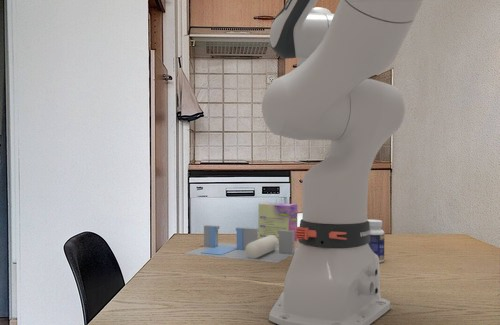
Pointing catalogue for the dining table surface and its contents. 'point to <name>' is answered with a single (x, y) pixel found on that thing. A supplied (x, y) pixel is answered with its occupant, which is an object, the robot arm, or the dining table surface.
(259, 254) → the cream bolster roll
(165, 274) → the dining table surface
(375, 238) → the pill bottle
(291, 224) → the box
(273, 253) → the base plate with posts
